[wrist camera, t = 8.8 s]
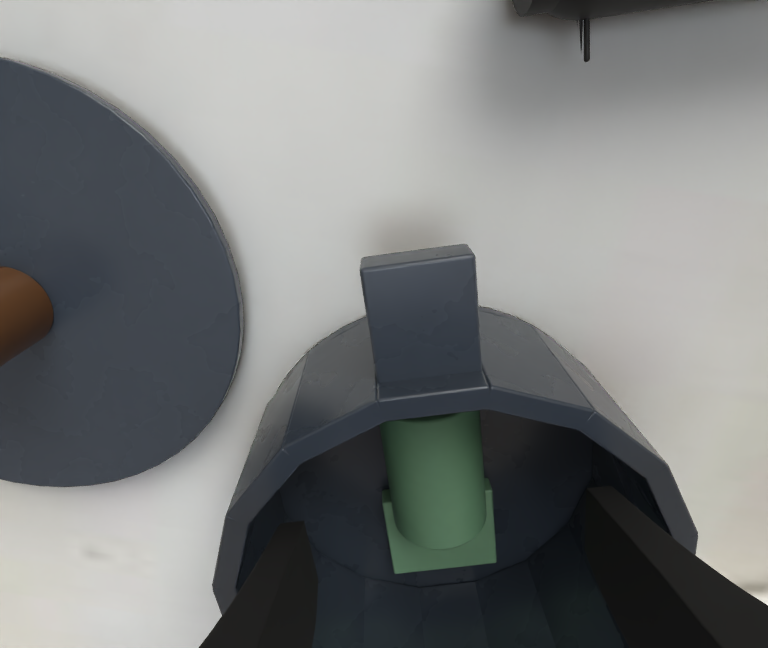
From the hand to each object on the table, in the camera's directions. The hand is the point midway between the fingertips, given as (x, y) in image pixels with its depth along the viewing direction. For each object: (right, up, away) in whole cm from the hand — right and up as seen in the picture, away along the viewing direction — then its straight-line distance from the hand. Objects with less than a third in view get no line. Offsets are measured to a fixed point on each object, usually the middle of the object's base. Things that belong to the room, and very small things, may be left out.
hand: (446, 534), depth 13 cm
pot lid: (-12, +6, +2) cm, 14 cm away
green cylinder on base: (0, 0, +5) cm, 5 cm away
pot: (0, 0, +5) cm, 5 cm away
